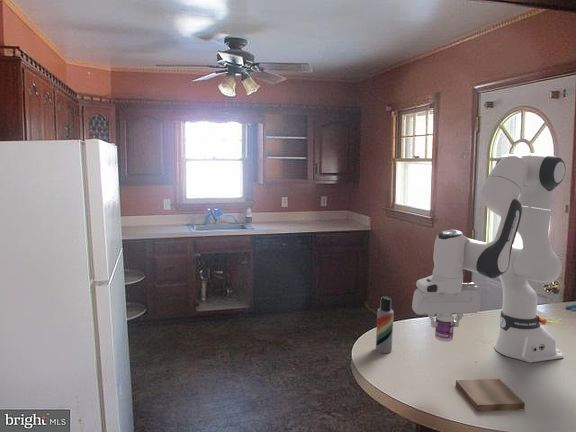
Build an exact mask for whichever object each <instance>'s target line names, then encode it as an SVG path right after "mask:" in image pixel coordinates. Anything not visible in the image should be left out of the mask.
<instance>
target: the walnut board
mask: <svg viewBox="0 0 576 432" xmlns="http://www.w3.org/2000/svg"><path fill="white" fill-rule="evenodd" d="M455 387H456V389H457V390H458V391H459V392H460V393H461V395H462V396H463V397H464V398H465V399H466V400H467V402H469V404H470V405H471V406H472V408H473V409H474V410H475V411H476V412H477V413H478V412H495V411H496V412H498V411H500V412H501V411H502V410H503V411H517V410H516V409H524V410H525V404H526V403H525V402H524V400H522V399H521V398H520V397H519V396H518V395H517V394H516V393H515V392H514V391H513V390H511V388H509V386H507V384H506V383H504V381H502V380H501V379H500V378H488V379H484V378H483V379H459V380H457V379H456V380H455Z"/></svg>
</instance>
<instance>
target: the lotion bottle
mask: <svg viewBox="0 0 576 432" xmlns="http://www.w3.org/2000/svg"><path fill="white" fill-rule="evenodd" d="M376 313H377V315H376V316H377V317H376V334H375V335H376V337H375V339H376V340H375V350H376V351H377V352H378V353H382V354H389V353H391V352H392V351H393V349H392V348H393V332H394V331H393V330H394V313H395V312H394V310H393V309H392V298H391V297H389V296H381V298H380V306H379V308H377V312H376Z"/></svg>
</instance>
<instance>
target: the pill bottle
mask: <svg viewBox="0 0 576 432" xmlns="http://www.w3.org/2000/svg"><path fill="white" fill-rule="evenodd" d="M435 320H436V321H437V322H438V325H437V326H438V327H435V331H434V332H435V333H434V336H435V339H436V340H437V341H440V342H446V343H447V342H448V343H449V342H451V341H452V340H453V339H454V328H455V327H454V320H455V317H454V316H453V314H451V313H450V311H446V312H445V314H436V316H435Z"/></svg>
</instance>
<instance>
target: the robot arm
mask: <svg viewBox="0 0 576 432" xmlns="http://www.w3.org/2000/svg"><path fill="white" fill-rule="evenodd" d="M566 168H567V167H566V163H565V162H564V161H563V159H562V157H560V156H557V155H552V154H548V155H546V154H542V153H533V152H532V153H506V154H502V155H501V156H500V157H499V158H498V160H497V161H496V162H495V166H494V167H493V168H492V170H491V171H490V173H489V175H488V177H487V178H486V179H485V182H484V183H483V185H482V188H481V191H480V197H481V200H482V202H483V204H484V205H485V207H487V209H489V210H490V211H491V212H493V213H494V214H496V215H498V216H499V217H500V222H499V225H498V229H497V231H496V234H495V237H494V240H492V241H490V242H485V241H481V240H476V239H473V238H470V237H467V236H465V235H464V234H463V232H462V231H460V230H457V229H445V230H442V231H439V232H438V233H437V235H436V236H435V237H436V238H435V241H434V248H433V256H432V259H433V260H432V261H433V264H434V266H433V270H432V274H431V275H428V276H427V277H423V278H420V279H418V280H416V282H415V283H416V287H417V288H416V289H415V290H414V292H413V297H412V302H411V304H412V306H411V308H412V311H413V312H414V313H415V314H416V315H418V316H419V315H423V316H424V315H427V316H428V318H429V320H430V326H431V327H432V328H436V327H438V326H437V325H438V322H437V321H436V319H434V318H436V316H435V315H438V314H445V312H446V311H450V313H451V314H452V315H454V314H455V315H456V317H454V328H456V327H457V328H458V327H459V326H460V321H461V320H462V319H463V317H464V314H477V313H478V312H479V310H480V296H479V295H480V291H481V290H480V288H481V287H480V286H479V284H477V283H476V282H464V273H463V270H466V271H469V272H472V273H473V272H474V273H477V274H480V275H482V276H484V277H487V278H490V279H495V278H497V277H499V280H500V283H501V286H502V287H501V288H502V308H501V309H502V310H500V316H499V330H498V335H497V339H496V342H495V344H494V346H493V348H494V350H496V351H497V352H498V353H499V354H500V355H503V356H506V357H508V358H512V359H517V360H521V361H524V362H527V363H537V362H544V361H552V360H557V359H563V353H562V351H561V350H560V349H559V348H557V345H556V344H557V343H556V340H555V337H554V336H553V335H552V334H551V333H550V332H548V331H547V330H546V329H545V328H544V327H543V326H541V325H546V324H547V322H548V321H547V319H546V318H544V317H540V316H539V315H537V308H538V299H539V298H538V294H537V292H536V290H534V289H533V288H532V286H531V284H530V283H529V280H530V281H533V282H538V283H539V282H540V283H553V282H554V281H556V280H557V279H558V278H559V277H560V275H561V273H562V270H563V269H562V268H563V265H562V262H561V259H560V258H559V256H558V254H556V253H555V251H554V249H553V247H552V244H551V242H550V235H549V234H550V224H551V217H552V212H553V207H554V206H553V205H554V197H555V192H554V191H555V188H556V187H558V186H559V185H560V184H561V183H562V182H563V180H564V178H565V175H566ZM517 234H519V236H520V238H521V241H522V244H518V243H514V242H515V238H516V236H517Z"/></svg>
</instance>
